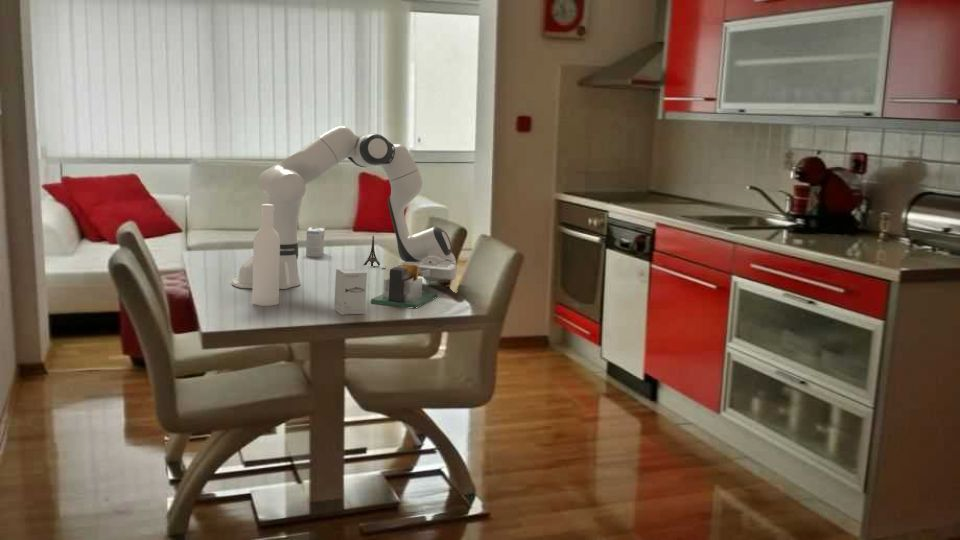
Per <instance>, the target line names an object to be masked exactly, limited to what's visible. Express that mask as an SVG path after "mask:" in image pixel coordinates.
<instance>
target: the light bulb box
mask: <svg viewBox="0 0 960 540" xmlns="http://www.w3.org/2000/svg"><path fill="white" fill-rule="evenodd" d="M305 242H306V243H305V244H306V245H305V246H306V247H305V257H318V258H321V257H323V254H324V251H325V246H324V245H325V227H310V226H309V227H308V229H307V230H306V241H305Z"/></svg>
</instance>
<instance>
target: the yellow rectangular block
mask: <svg viewBox="0 0 960 540" xmlns="http://www.w3.org/2000/svg"><path fill="white" fill-rule="evenodd" d="M403 268H408V272H407V275H405V276H404V279H405V280H407V279H409V278H411V277H412V278H414V281H415V280H417V279H419V276H418V265H410V264H403Z"/></svg>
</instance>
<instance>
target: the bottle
mask: <svg viewBox="0 0 960 540" xmlns="http://www.w3.org/2000/svg"><path fill="white" fill-rule="evenodd" d="M260 206H261V208H260V212H261V218H260V228H259V229H258V230H256V231H255V233H254V237H253V246H252V247H253V251H252V252H253V288H252V294H251V298H252V299H251V301H252V302H251V304H252V305H255V306H260V307H271V306H273V307H274V306H277V305H279V300H280V289H279V264H280V238H279V234H278V232H277V231H276V230H275V229H274V228H273V220H274V205H272V204H268V203H262V204H261V205H260Z"/></svg>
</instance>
